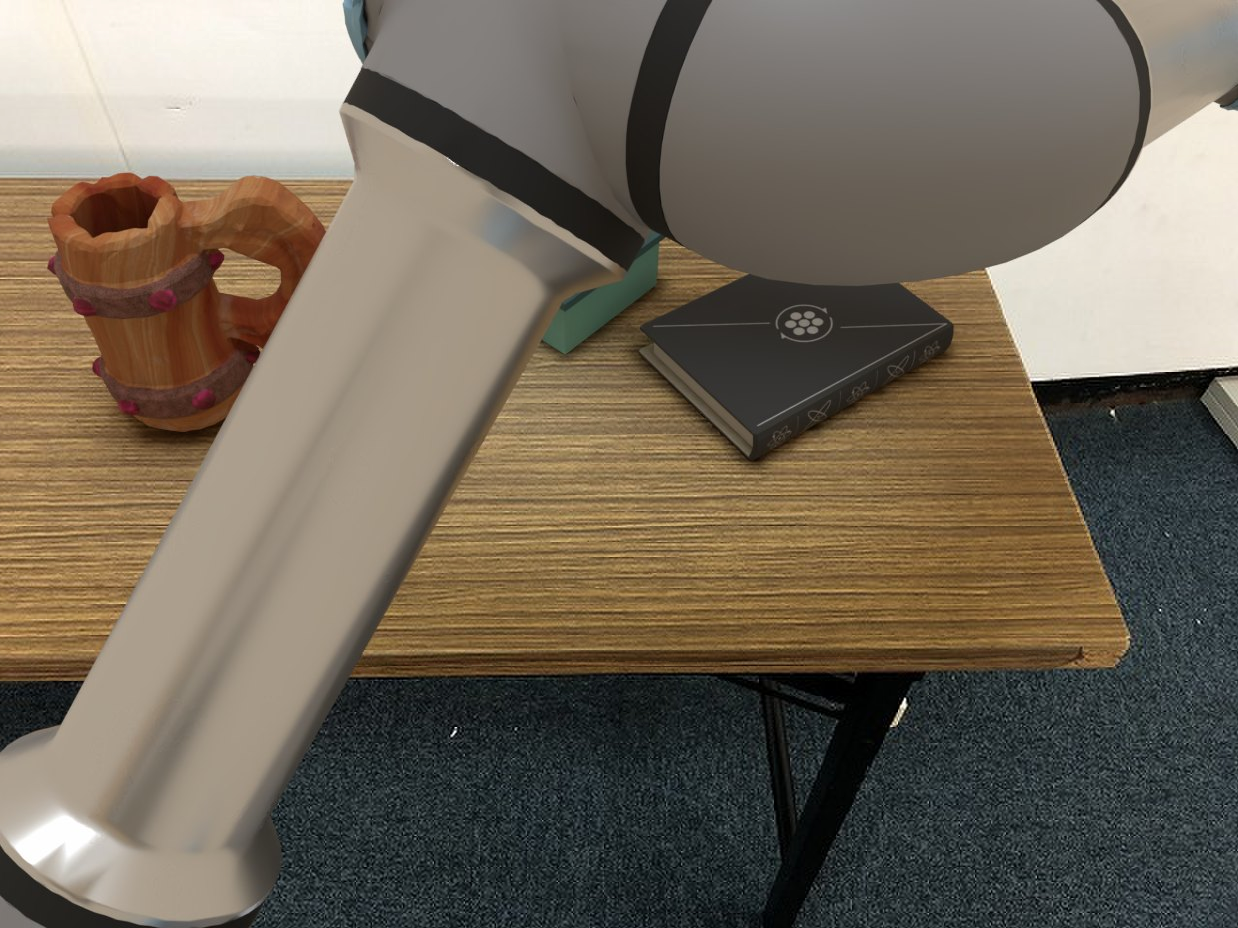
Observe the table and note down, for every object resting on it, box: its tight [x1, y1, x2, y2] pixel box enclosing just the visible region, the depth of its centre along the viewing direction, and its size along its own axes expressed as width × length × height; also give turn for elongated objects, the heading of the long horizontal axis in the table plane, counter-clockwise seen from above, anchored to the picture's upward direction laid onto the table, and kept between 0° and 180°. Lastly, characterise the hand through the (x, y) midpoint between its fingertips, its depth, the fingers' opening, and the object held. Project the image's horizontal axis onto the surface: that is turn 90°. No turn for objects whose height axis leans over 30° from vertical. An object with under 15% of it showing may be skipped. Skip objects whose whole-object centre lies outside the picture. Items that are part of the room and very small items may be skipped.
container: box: [541, 231, 666, 356], centre depth 94 cm, size 14×13×6 cm
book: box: [637, 273, 955, 462], centre depth 91 cm, size 22×15×3 cm
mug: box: [46, 172, 327, 433], centre depth 79 cm, size 19×11×20 cm, turn 95°
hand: (490, 44), depth 76 cm, fingers closed on coffee cup, 8 cm apart
